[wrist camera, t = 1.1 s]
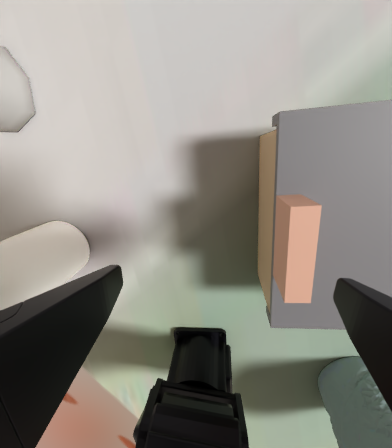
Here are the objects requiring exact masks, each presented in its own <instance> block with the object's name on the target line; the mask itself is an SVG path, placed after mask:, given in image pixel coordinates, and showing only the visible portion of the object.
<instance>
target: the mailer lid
mask: <svg viewBox="0 0 392 448" xmlns="http://www.w3.org/2000/svg"><path fill="white" fill-rule="evenodd" d="M273 126H277V133H276V159H275V185H274V212H273V238H272V264H271V290H270V313H269V310H268V306H266V312H267V316H268V319H269V323H270V326H271V328H305V329H344V330H346V328H345V326H344V324H343V321H342V319H341V317H340V314H339V312H338V310H337V308H336V305H335V303H334V300H333V293H334V290H335V286H336V282H337V280H338V279H339V278H351V279H353V280H355V281H357V282H360V283H362V284H364V285H366V286H368V287H371V288H373V289H375V290H377V291H379V292H381V293H384V294H386V295H388V296H390V297H392V100H385V101H375V102H366V103H356V104H347V105H338V106H328V107H319V108H309V109H300V110H290V111H281V112H279V113H277V114H276V115H274V116H273V117H272V127H273Z"/></svg>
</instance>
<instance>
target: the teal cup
mask: <svg viewBox="0 0 392 448" xmlns="http://www.w3.org/2000/svg"><path fill="white" fill-rule="evenodd" d="M318 388H319V391H320V394H321V397H322V400H323V403H324V406H325V408H326V411H327V412H328V414H329V415H330V421H331V424H332V429H333V432H334V435H335V437H336V439H337V443H338V446H339V448H392V412H391V410H390V408H389V407H388V405H387V403H386V401H385V400H384V398H383V396H382V394H381V392H380V391H379V389H378V387H377V385H376V384H375V382H374V380H373V378H372V376H371V375H370V373H369V371H368V369H367V368H366V366H365V364H364V362H363V360H362V359H361V357H346V358H341V359H338V360H336V361H334V362H331V363H330V364H328V365H327V366H326V367H325V368H324V369H323V370H322V371H321V373H320V375H319V377H318Z"/></svg>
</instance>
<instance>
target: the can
mask: <svg viewBox="0 0 392 448" xmlns="http://www.w3.org/2000/svg"><path fill="white" fill-rule="evenodd" d="M89 256H90V249H89V244H88V241H87V239H86V237H85V236H84V234H83V233H82V232H81V231H80V230H79V229H77V228H76V227H75V226H73V225H71V224H69V223H66V222H63V221H51V222H48V223H45V224H42V225H40V226H37V227H35V228H32V229H30V230H27V231H25V232H22V233H20V234H17V235H15V236H12V237H10V238H7V239H5V240H3V241H0V310H3V309H5V308H8V307H10V306H13V305H15V304H18V303H20V302H24V301H25V300H27V299H30V298H32V297H35V296H37V295H39V294H42V293H44V292H47V291H49V290H51V289H54V288H56V287H59V286H61V285H63V284H64V283H65V282H66V281H68V280H69V279H70V278H71V277H72V276H74V275H75V274H76V273H77V272H78V271H79V270H81V269H82V268H83V267H84V266H85V265H86V264H87V262H88V260H89Z"/></svg>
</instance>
